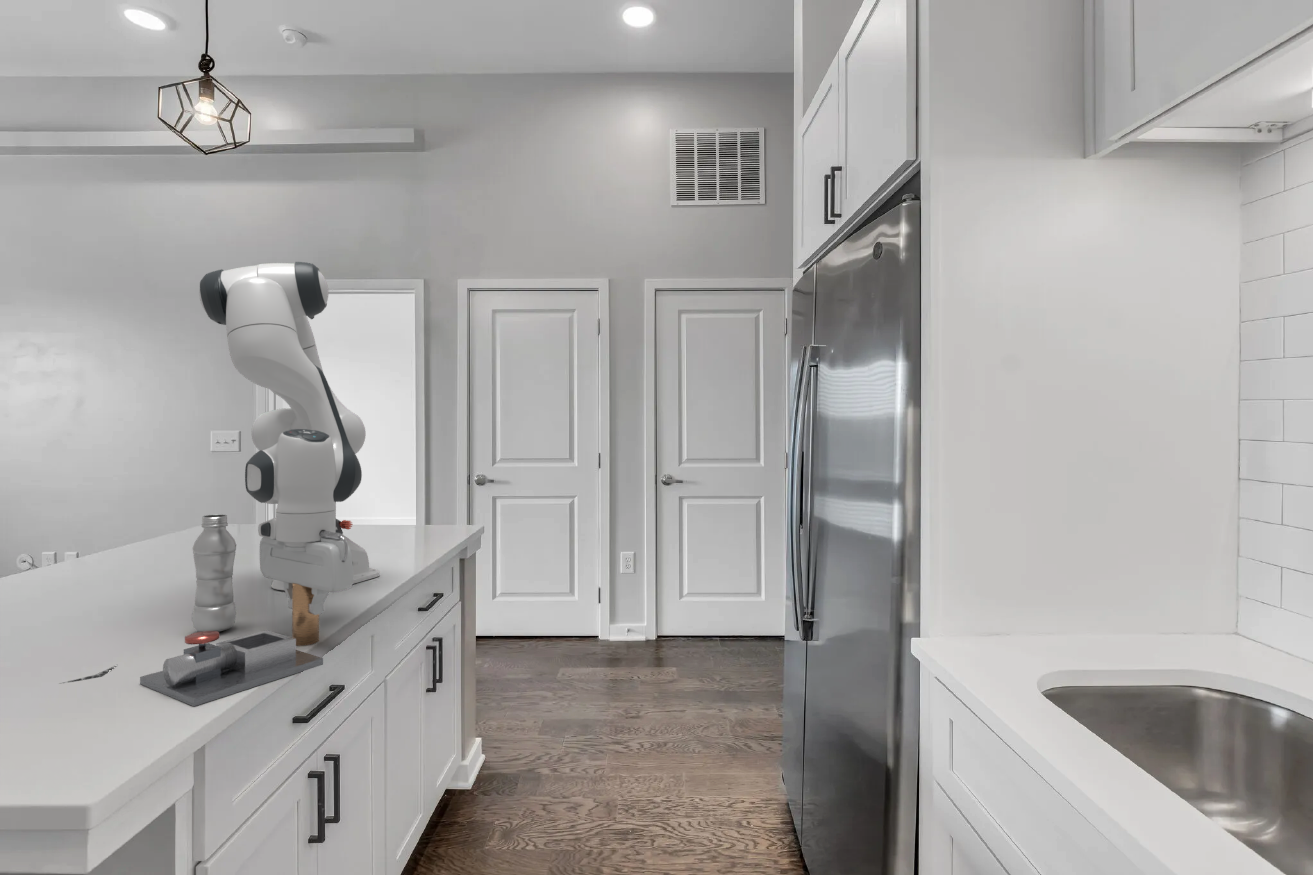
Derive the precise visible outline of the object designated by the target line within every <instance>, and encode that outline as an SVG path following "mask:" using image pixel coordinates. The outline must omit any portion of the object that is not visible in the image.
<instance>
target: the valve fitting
mask: <svg viewBox="0 0 1313 875" xmlns="http://www.w3.org/2000/svg"><path fill="white" fill-rule="evenodd" d="M219 639H220V631H219V632H217V631H203V632H198V631H197V632H193V633H190V634H187V635H186V636H184V644H187V645H196V646H192V647H188V648H184V649H183V654H182V655H181V654H180V655H177V656H174V657H168V658H166V659H165V660H164V662H163V665H162V670H160V671H156V672H153V673H149V674H146V675H143V676H140V677H139V684H140V685H141V686H143V687H146V688H149V689H151V690H153V691H156V692H157V693H160V694H163V695H165V696H167V697H170V698H172V699H175V700H177V701H179V702H182V703H183V704H187V705H190V706H192V707H196V706H197V707H198V706H201V705H203V704H206V703H209V702H213V701H215V700H218V699H222V698H225V697H227V696H231V695H234V694H236V693H240V692H242V691H246V690H249V689H253V688H255V687H259V686H261V685H265V684H268V683H271V682H274V681H277V680H279V679H283V678H287V677H289V676H292V675H295V674H299V673H301V672H304V671H308V670H311V669H314V668H317V667H320V666H322V665H324V658H323V657H321V656H318V655H314V654H312V653H308V652H305V651H300V650H297V646H296V638H292V636H288V635H285V634H281V633H278V632H274V631H271V630H268V629H267V630H263V631H258V632H255V633H250V634H246V635H243V636H239V637H235V638H230V639H227V640H224V641H220V642H216V643H215V644H212V642H215V641H217V640H219Z"/></svg>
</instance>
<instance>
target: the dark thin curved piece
mask: <svg viewBox="0 0 1313 875" xmlns="http://www.w3.org/2000/svg"><path fill="white" fill-rule="evenodd" d="M114 667H115V668H116V667H117V666H115V665H113V666H111V667H109V668H107V669H105V670H103V671H101V672H99V673H95V674H92V675H88V676H85V677H80V678H76V679H73V680H68V681H64V682H59V683H58V685H59V684H68V683H74V682H79V681H85V680H92V679H97V678H103V677H104V676H105V675H107V674H108V672H109V670H111V671H113V670H114V669H115V668H114ZM112 669H113V670H112ZM109 673H110V672H109Z"/></svg>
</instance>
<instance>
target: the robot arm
mask: <svg viewBox="0 0 1313 875" xmlns="http://www.w3.org/2000/svg"><path fill="white" fill-rule="evenodd" d="M198 295H199V301H200V304H201V306H202V308H203V310H204V311H205V313H206V315H207V317H208V318H209V319H210V320H212V322H215V323H217V324H218V325H221V326H222V325H223V326H226V327H225V328H226V336H227V345H228V351H229V355H230V360H231V361H232V365H233V366H234V368H235V370H237V372H238V373H239V374H240V375H242V376H243V377H244V378H245V379H247V380H248V381H250V382H251V383H253V384H256V385H257V386H258V387H259V386H260V387H262V388H264V389H268V390H270V391H271V392H272V393H273V394H274V395H276V396H278V397H279V398H280V399H282V400H283V401H284V402H285V403H286V404H287V406H289V407H290V408H287V407H286V408H278V409H273V410H270V411H265V412H262V413H261V414H258V416H257V417H256V418H255V420H254V421H253V423H252V427H251V440H252V442H253V444H254V446H255V447H256V449H257V450H258V451H256V453H254V454H253V455H252V456H251V457H250V458H249V460H247V462H246V464H245V472H244V480H245V481H244V483H245V484H244V485H245V489H246V492H247V493H248V494H249V495H250V496H251V497H252V498H253V499H254V500H256V501H257V502H259V503H261V504H262V503H263V504H268V505H277V506H276V510H275V517H273V518H271V519H269V520H266V521H263V522H260V523H259V524H258V529H257V530H258V535H259V537H261V539H260V543H259V566H260V567H259V568H260V572H261V574H262V576H263V578H265V579H269V580H272V582H271V585H270V587H271V588H272V589H274V590H278V591H284V592H285V594H286V597H287V599H288V604H287V606H288V607H287V608H288V609H291V610H292V583H294V584H299V585H301V586H305V587H310V588H312V594H314V597H313V600H312V603H308V608H309V609H308V612H309V613H310V614H314V615H317V614H319V615H320V614H323V613H324V611H325V610H324V603H325V602H326V599H327V597H328V595H329V593H339V592H342V591H347V590H349V589H351V588H352V587H353V585H354V584H357V583H361V582H364V581H367V580H371V579H374V578H378V577H380V574H381V573H380V571H379V570H378V569H377V568H376V569H375V568H373V567H370V562H369V556H368V553H367V551H366V549H365V548H364V547H362V546H360V545H359V544H357V543H356V542H355V541H353V540H352V539H350V538H349V537H347V536H345V535H344V532H343V530H345V529H346V530H350V529H352V527H353V522H352V521H351V520H346V519H343V520H339V519H337V517H336V516H337V515H336V514H337V503H341V502H344V501H346V500H347V499H349V498H350V497H351V496H352V495H353V494H354V493H355V492H356V490H358V488H359V486H360V485H361V482H362V476H363V474H362V466H361V464H360V460H359V458H358V457H357V453H359V451H361V449H362V448H363V446H364V444H365V442H366V441H365V440H366V427H365V424H364V422H363V419H361V417H359V415H357V414H356V413H355V412H353V411H352V410H350V409H349V408H347V406H345V405H344V404H343V402H341V400H339V398H338V397H337V396H336V394H335V393H334V391H333V389H332V388H331V387H330V384H329V382H328V380H327V378H326V376H325V374H324V371H323V367H322V363H321V360H320V355H319V352H318V348H317V344H316V340H315V336H314V333H313V332H314V331H313V329H312V326H311V324H310V321H309V319H310V320H313V319H315V316H317V315H319V314H322V313H323V311H324V310H325V309H326V307H327V304H328V301H329V286H328V282H327V280H326V277H325V276H324V275H323V273H322V272H321V270H320V268H318V267H317V266H316V265H315V264H314V263H310V262H303V261H295V263H292V262H291V263H290V262H288V263H287V262H271V263H270V262H269V263H268V262H267V263H266V262H265V263H259V264H256V265H255V264H254V265H248V266H241V267H236V268H232V269H231V268H230V269H225V270H224V269H222V268H221V269H218V270H214V271H210V272H208V273H206V274H204V276H203V277H202V279H201V280H200V282H199V292H198ZM308 318H309V319H308Z"/></svg>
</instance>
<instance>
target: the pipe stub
mask: <svg viewBox="0 0 1313 875" xmlns="http://www.w3.org/2000/svg"><path fill="white" fill-rule="evenodd" d="M313 597H314V594H312V588H310V587H305V586H301V585H299V584H294V583H292V609H291V614H292V616H291V621H292V622H291V627H292V628H291V629H292V630H291V637H292V638H296V647H297V646H299V647H300V646H303V647H304V646H310V645H314V644H316V643H318V642H320V614H317V615H314V614H310V613H309V612H308V609H309V608H308V603H312V600H313Z"/></svg>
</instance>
